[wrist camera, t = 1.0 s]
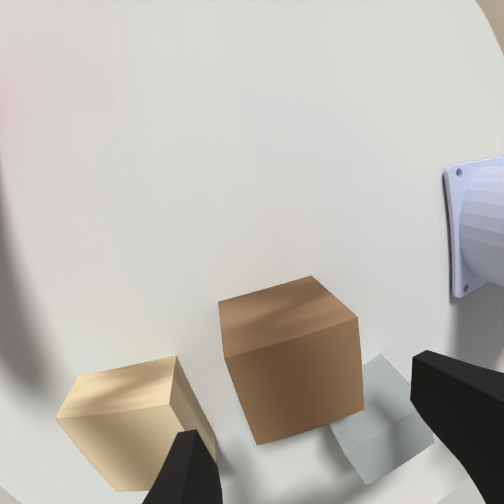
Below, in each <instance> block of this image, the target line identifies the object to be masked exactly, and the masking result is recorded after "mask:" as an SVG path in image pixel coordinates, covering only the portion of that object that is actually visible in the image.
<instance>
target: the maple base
mask: <svg viewBox="0 0 504 504" xmlns="http://www.w3.org/2000/svg"><path fill="white" fill-rule="evenodd" d="M55 419H56V421H57V422H58V423H59V425H60V426H61V428H62V429H63V430H64V432H65V433H66V434H67V435H68V437H69V438H70V439H71V441H72V442H73V443H74V444H75V446H76V447H77V448H78V449H79V451H80V452H81V453H82V454H83V455H84V456H85V458H86V459H87V460H88V461H89V462H90V463H91V465H92V466H93V467H94V468H95V469H96V470H97V471H98V472H99V473H100V475H101V476H102V477H103V478H104V479H105V480H106V481H107V482H108V483H109V484H110V485H111V486H112V487H113V488H114V489H115V490H116V491H117V492H125V491H150V489H151V487H152V485H153V483H154V482H155V480H156V478H157V476H158V474H159V472H160V470H161V468H162V466H163V463H164V461H165V459H166V457H167V455H168V453H169V450H170V448H171V446H172V443H173V441H174V439H175V437H176V435H177V433H178V432H183V431H189V430H194V429H197V431H198V433H199V434H200V436H201V438H202V440H203V442H204V443H205V445H206V447H207V449H208V451H209V452H210V454H211V456H212V458H213V459H214V461H215V463H216V464H217V460H216V446H215V434H214V432H213V430H212V428H211V426H210V424H209V422H208V420H207V418H206V417H205V415H204V413H203V411H202V409H201V407H200V405H199V403H198V401H197V399H196V397H195V395H194V393H193V390H192V388H191V386H190V384H189V382H188V380H187V378H186V376H185V373H184V371H183V369H182V367H181V365H180V363H179V360H178V358H177V356H176V355H175V356H171V357H167V358H163V359H158V360H154V361H150V362H145V363H141V364H136V365H131V366H127V367H122V368H117V369H112V370H107V371H101V372H96V373H91V374H85V375H79V376H78V378H77V380H76V381H75V383H74V385H73V387H72V388H71V390H70V392H69V394H68V395H67V397H66V399H65V401H64V403H63V404H62V406H61V408H60V410H59V412H58V413H57V415H56V417H55Z"/></svg>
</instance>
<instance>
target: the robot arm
mask: <svg viewBox="0 0 504 504" xmlns="http://www.w3.org/2000/svg"><path fill="white" fill-rule="evenodd" d="M456 171H457V172H458V175H457V174H456ZM444 178H445V185H446V192H447V201H448V210H449V220H450V232H451V250H452V294H453V296H454V297H456V298H461V297H463V296H465V295H467V294H469V293H471V292H472V291H474V290H476V289H478V288H480V287H482V286H483V285H485V284H487V283H489V282H492V283H495V284H497V285H499V286H502V287H504V156H502V157H495V158H489V159H483V160H477V161H471V162H465V163H459V164H453V165H448V166H446V168H445V170H444ZM464 286H465V287H464ZM410 401H411V403H412V404H413V406H414V407H415V409H416V410H417V412H418V413H419V415H420V416H421V418H422V419H423V421H424V422H425V423H426V424H427V425H428V427H429V428H430V429H431V430H432V431H433V432H434V433H435V434H436V436H437V437H438V438H439V439H440V440H441V441H442V442H443V443H444V444H445V445H446V447H447V448H448V449H449V450H450V451H451V452H452V453H453V454H454V455H455V457H456V458H457V459H458V460H459V461H460V463H461V464H462V465H463V466H464V468H465V469H466V471H467V473H468V474H469V476H470V477H471V479H472V480H473V482H474V483H475V485H476V486H477V488H478V490H479V492H480V494H481V495H482V497H483V499H484V501H485V503H486V504H504V373H502V372H498V371H493V370H490V369H486V368H482V367H479V366H475V365H472V364H469V363H466V362H463V361H460V360H457V359H453V358H450V357H447V356H444V355H441V354H438V353H435V352H432V351H428V350H426V351H424V352H422V353H420V354H418V355H416V356H414V357H413V358H412V378H411V392H410ZM142 504H223V500H222V489H221V483H220V478H219V472H218V467H217V464H216V463H215V461H214V459H213V458H212V456H211V454H210V452H209V451H208V449H207V447H206V445H205V443H204V442H203V440H202V438H201V436H200V434H199V433H198V431H197V429H194V430H189V431H183V432H178V433H177V435H176V437H175V439H174V441H173V443H172V446H171V448H170V450H169V453H168V455H167V457H166V459H165V461H164V463H163V466H162V468H161V470H160V472H159V474H158V476H157V478H156V480H155V482H154V483H153V485H152V487H151V489H150V491H149V493H148V494H147V496H146V498H145V499H144V501H143V503H142Z"/></svg>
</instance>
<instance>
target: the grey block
mask: <svg viewBox="0 0 504 504" xmlns="http://www.w3.org/2000/svg"><path fill="white" fill-rule="evenodd" d="M362 376H363V394H364V410H362V411H360V412H358V413H355V414H353V415H350V416H348V417H345V418H343V419H340V420H337V421H335V422H332V423H329V425H330V427H331V429H332V431H333V433H334V435H335V437H336V439H337V441H338V443H339V445H340V446H341V448H342V450H343V452H344V454H345V456H346V457H347V459H348V460H349V462H350V463H351V464H352V466H353V467H354V469H355V470H356V472H357V473H358V474H359V476H360V477H361V479H362V480H363V482H364V483H365V484H366V486H367V485H369V484H370V483H372V482H374V481H376V480H377V479H379V478H381V477H383V476H384V475H386V474H388V473H389V472H391V471H393V470H394V469H396V468H397V467H399V466H401V465H402V464H404V463H405V462H407V461H408V460H410V459H411V458H413V457H414V456H416V455H417V454H419V453H420V452H421V451H423V450H424V449H426V448H427V447H428V446H430V445H431V444H432V443H434V439H433V433H432V430H431V429H430V428H429V427H428V425H427V424H426V423H425V422H424V421H423V419H422V418H421V416H420V415H419V413H418V412H417V410H416V409H415V407H414V406H413V404H412V403H411V401H410V392H411V385H410V384H409V382H408V381H407V380H406V379H405V378H404V377H403V376H402V375H401V374H400V373H399V372H398V371H397V370H396V369H395V368H394V367H393V366H392V365H391V364H390V363H389V362H388V361H387V360H386V359H385V358H384V357H383V356H382V355H381V354H379V355H378V356H376V357H375V358H373V359H372V360H370V361H369V362H367V363H366V364H364V365H363V366H362Z"/></svg>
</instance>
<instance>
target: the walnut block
mask: <svg viewBox="0 0 504 504" xmlns="http://www.w3.org/2000/svg"><path fill="white" fill-rule="evenodd" d="M218 303H219V313H220V323H221V333H222V342H223V352H224V359H225V362H226V365H227V367H228V370H229V373H230V376H231V379H232V381H233V384H234V387H235V389H236V392H237V395H238V398H239V400H240V403H241V406H242V408H243V411H244V413H245V416H246V419H247V421H248V424H249V426H250V429H251V431H252V434H253V436H254V439H255V441H256V444H257V445H261V444H265V443H268V442H272V441H276V440H279V439H283V438H286V437H290V436H293V435H296V434H299V433H303V432H306V431H309V430H312V429H315V428H318V427H321V426H323V425H326V424H329V423H332V422H335V421H337V420H340V419H343V418H345V417H348V416H350V415H353V414H355V413H358V412H360V411H362V410H364V394H363V376H362V361H361V348H360V337H359V327H358V317H357V316H356V315H355V314H354V313H353V312H351V311H350V310H349V309H348V308H347V307H346V306H345V305H344V304H343V303H342V302H340V301H339V300H338V299H337V298H336V297H335V296H334V295H333V294H332V293H330V292H329V291H328V290H327V289H326V288H325V287H324V286H323V285H321V284H320V283H319V282H318V281H317V280H316V279H315V278H314V277H313V276H308V277H305V278H301V279H298V280H295V281H291V282H288V283H284V284H281V285H277V286H274V287H270V288H267V289H263V290H260V291H256V292H253V293H249V294H245V295H242V296H238V297H234V298H231V299H227V300H223V301H220V302H218Z"/></svg>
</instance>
